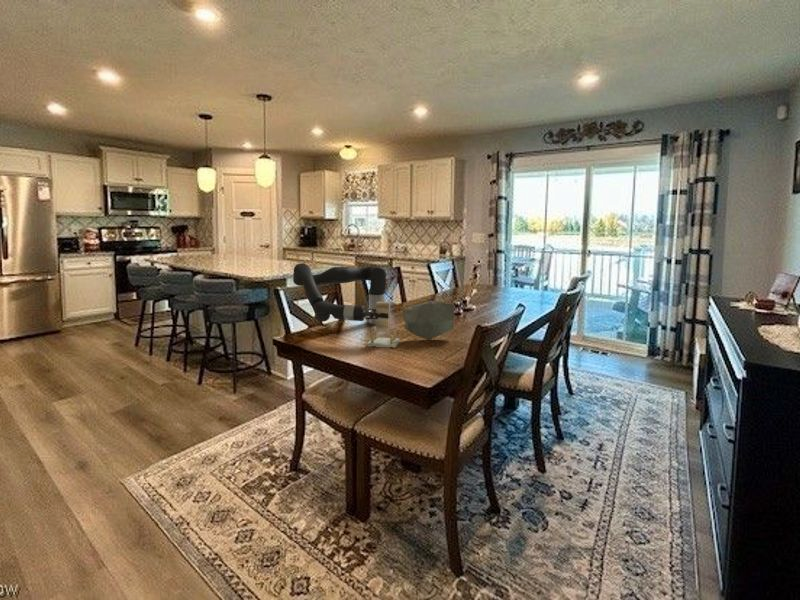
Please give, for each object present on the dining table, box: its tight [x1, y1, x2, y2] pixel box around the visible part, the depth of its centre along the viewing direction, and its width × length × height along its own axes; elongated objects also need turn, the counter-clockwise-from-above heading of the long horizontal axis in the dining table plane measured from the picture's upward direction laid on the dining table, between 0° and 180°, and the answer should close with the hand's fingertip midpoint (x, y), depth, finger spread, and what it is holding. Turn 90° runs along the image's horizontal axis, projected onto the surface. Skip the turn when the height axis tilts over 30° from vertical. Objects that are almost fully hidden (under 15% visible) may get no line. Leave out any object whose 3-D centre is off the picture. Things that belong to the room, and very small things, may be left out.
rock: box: [401, 300, 456, 340], centre depth 218 cm, size 27×6×20 cm, turn 98°
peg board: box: [366, 329, 400, 349], centre depth 212 cm, size 12×14×5 cm
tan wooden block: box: [375, 301, 391, 333], centre depth 210 cm, size 4×6×14 cm, turn 81°
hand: (388, 314), depth 209 cm, fingers closed on tan wooden block, 4 cm apart
